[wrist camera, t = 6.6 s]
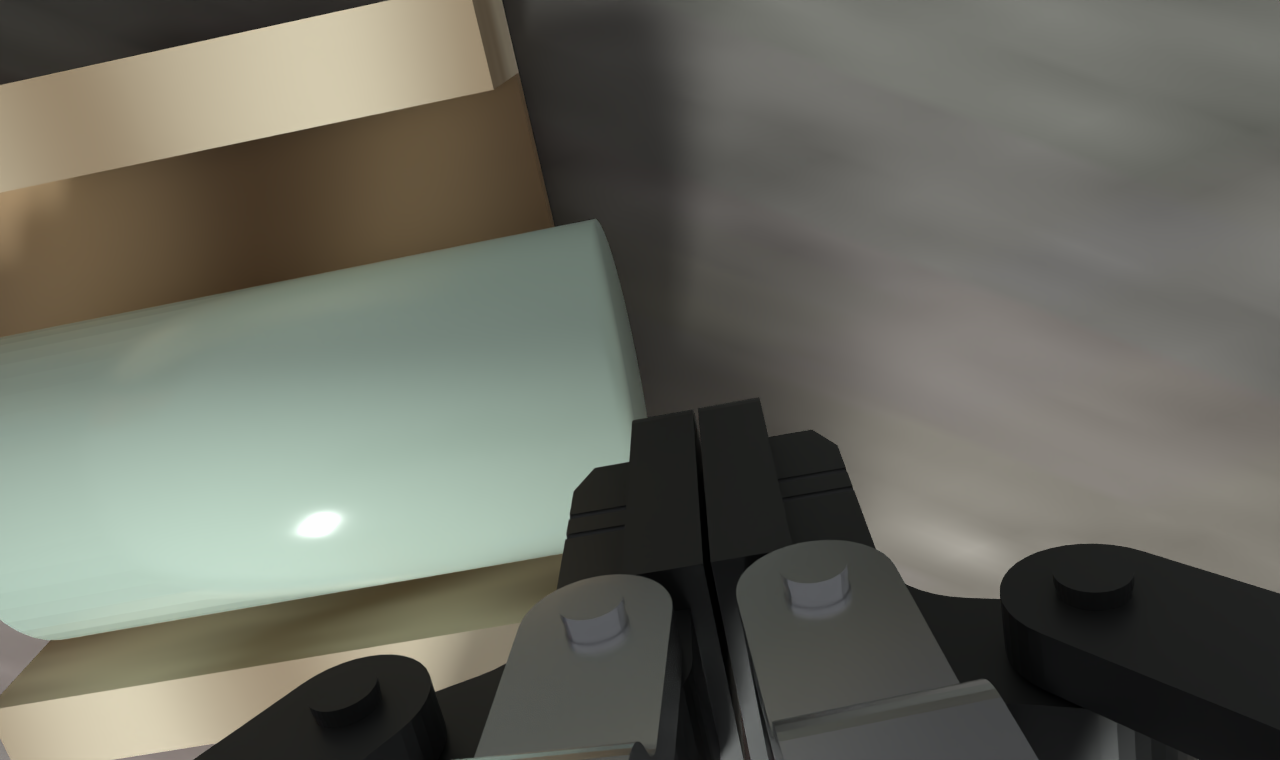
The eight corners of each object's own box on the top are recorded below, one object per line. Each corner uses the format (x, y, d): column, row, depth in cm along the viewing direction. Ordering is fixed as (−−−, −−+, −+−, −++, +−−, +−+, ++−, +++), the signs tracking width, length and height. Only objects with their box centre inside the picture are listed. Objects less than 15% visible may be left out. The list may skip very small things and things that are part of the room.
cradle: (497, -19, 18) (467, -17, 15) (638, 588, 22) (636, 676, 19) (-155, 124, 19) (-296, 149, 16) (95, 677, 23) (18, 774, 20)
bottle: (584, 295, 14) (-438, 492, 15) (661, 605, 16) (-229, 754, 17) (595, 177, 18) (-188, 336, 20) (654, 432, 21) (-49, 559, 22)
